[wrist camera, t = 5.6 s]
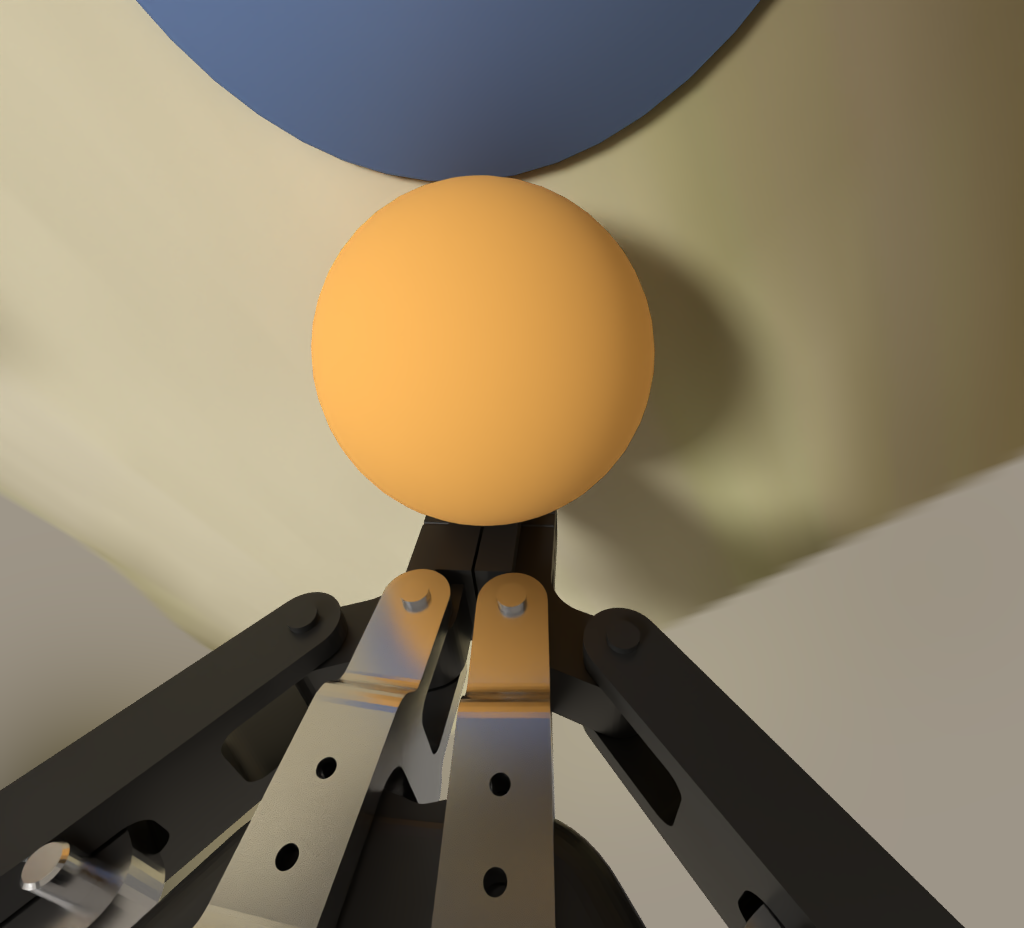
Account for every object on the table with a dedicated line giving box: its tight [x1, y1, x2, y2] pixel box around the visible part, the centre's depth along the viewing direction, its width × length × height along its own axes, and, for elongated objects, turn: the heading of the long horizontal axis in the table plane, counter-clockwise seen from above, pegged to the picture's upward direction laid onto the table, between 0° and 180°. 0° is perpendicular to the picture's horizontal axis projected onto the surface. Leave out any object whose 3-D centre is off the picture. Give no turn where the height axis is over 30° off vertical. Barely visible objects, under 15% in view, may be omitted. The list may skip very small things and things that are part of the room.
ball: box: [311, 175, 655, 526], centre depth 9 cm, size 6×6×6 cm
